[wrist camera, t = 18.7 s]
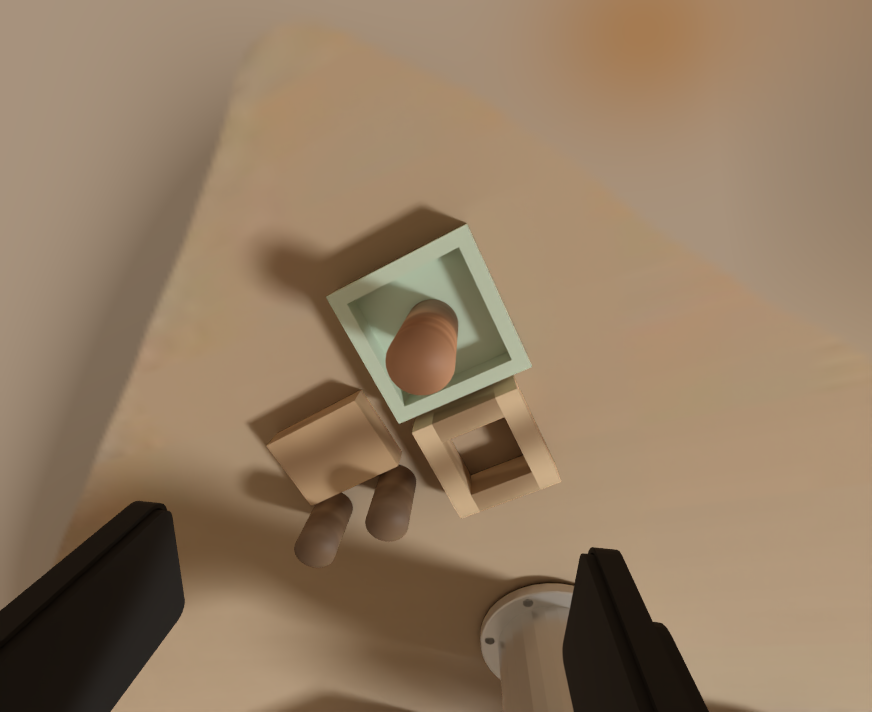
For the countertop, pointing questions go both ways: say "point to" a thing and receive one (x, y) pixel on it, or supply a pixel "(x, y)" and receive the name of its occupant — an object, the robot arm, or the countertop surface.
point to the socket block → (496, 481)
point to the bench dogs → (382, 521)
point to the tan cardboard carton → (336, 448)
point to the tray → (442, 280)
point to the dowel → (424, 349)
